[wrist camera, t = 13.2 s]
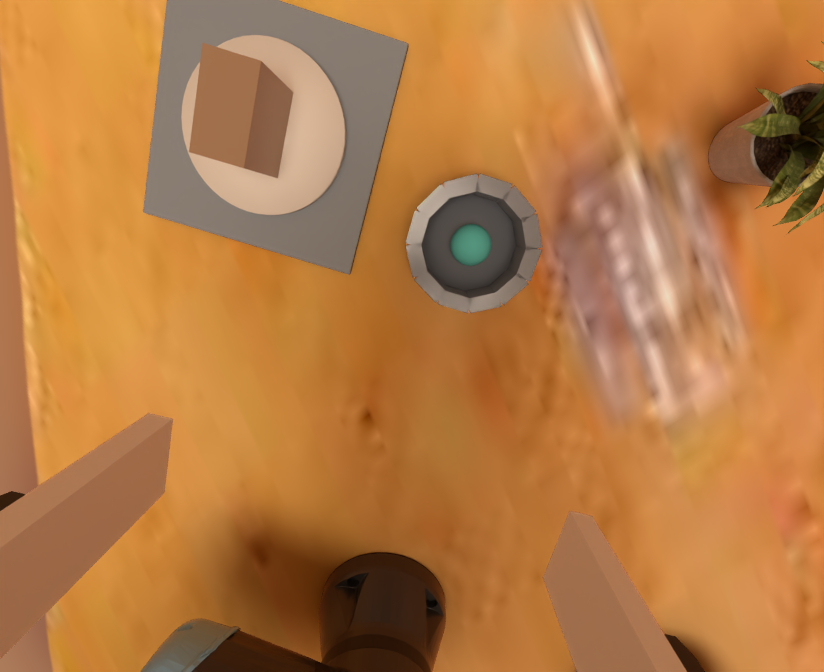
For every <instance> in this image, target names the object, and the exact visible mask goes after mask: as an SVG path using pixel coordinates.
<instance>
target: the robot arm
mask: <svg viewBox="0 0 824 672" xmlns="http://www.w3.org/2000/svg"><path fill="white" fill-rule="evenodd" d="M172 422H173V419H172V418H167V417H163V416H159V415H154V414H150V413H148V414H147V415H145V416H144V417H142V418H141V419H139V420H138V421H136V422H135V423H133V424H132V425H130V426H129V427H127V428H126V429H124V430H123V431H121V432H120V433H118V434H117V435H115V436H113V437H112V438H110V439H109V440H107V441H106V442H104V443H103V444H101V445H100V446H98V447H97V448H95V449H94V450H92V451H91V452H89V453H88V454H86V455H85V456H83V457H82V458H80V459H79V460H77V461H76V462H74V463H73V464H71V465H70V466H68V467H67V468H65V469H64V470H62V471H61V472H59V473H57V474H56V475H54V476H53V477H51V478H50V479H48V480H47V481H45V482H44V483H42V484H41V485H39V486H38V487H36V488H35V489H33V490H32V491H30V492H29V493H27V494H22V493H17V492H13V491H11V492H8V493H6V494H3V495H1V496H0V659H1V658H2V657H3V656H4V655H5V654H6V653H7V652H8V651H9V650H10V649H11V648H12V647H13V646H14V645H15V644H16V643H17V642H18V641H19V640H20V639H21V638H22V637H23V636H24V635H25V634H26V633H27V632H28V631H29V630H30V628H32V627H33V625H35V624H36V623H37V622H38V620H39V619H41V618H42V617H43V616H44V615H45V613H46V612H47V611H48V610H49V609H50V608H51V607H52V606H53V605H54V604H55V603H56V602H57V601H58V600H59V599H60V598H61V597H62V596H63V595H64V594H65V593H66V592H67V591H68V590H69V589H70V588H71V587H72V586H73V585H74V584H75V583H76V582H77V581H78V580H79V579H80V578H81V577H82V576H83V575H84V574H85V573H86V572H87V571H88V570H89V569H90V568H91V567H92V566H93V565H94V564H95V563H96V562H97V561H98V560H99V559H100V558H101V557H102V556H103V555H104V554H105V553H106V552H107V551H108V550H109V549H110V548H111V547H112V546H113V545H114V544H115V543H116V542H117V541H118V539H119V538H120V537H121V536H122V535H123V534H124V533H125V532H126V531H127V530H128V529H129V528H130V527H131V526H132V525H133V524H134V523H135V522H136V521H137V520H138V519H139V518H140V517H141V516H142V515H143V514H144V513H145V512H146V511H147V510H148V509H149V508H150V507H151V506H152V505H153V504H154V503H155V502H156V501H157V500H158V499H159V498H160V497H161V496H162V495H163V494H164V492H165V483H166V475H167V466H168V457H169V449H170V440H171V431H172ZM543 579H544V582H545V585H546V587H547V590H548V593H549V596H550V599H551V601H552V604H553V607H554V610H555V613H556V615H557V618H558V621H559V624H560V626H561V629H562V632H563V635H564V638H565V640H566V643H567V646H568V649H569V652H570V654H571V657H572V660H573V663H574V666H575V668H576V671H577V672H705V671H704V670H703V668H702V667H701V665H700V664H699V662H698V661H697V659H696V658H695V657H694V656H693V655H692V654H691V653H690V652H689V650H688V649H687V648H686V647H685V646H684V645H683V644H682V643H681V642H680V641H679V640H678V639H677V638H676V637H675V636H670V635H666V634H664V633H663V632H662V630H661V628H660V627H659V625H658V623H657V622H656V620H655V619H654V617H653V615H652V614H651V612H650V610H649V609H648V607H647V605H646V604H645V602H644V601H643V599H642V597H641V596H640V594H639V592H638V591H637V589H636V587H635V586H634V584H633V582H632V581H631V579H630V578H629V576H628V574H627V573H626V571H625V569H624V568H623V566H622V564H621V563H620V561H619V560H618V558H617V556H616V555H615V553H614V551H613V550H612V548H611V546H610V545H609V543H608V541H607V540H606V538H605V537H604V535H603V533H602V532H601V530H600V528H599V527H598V525H597V523H596V522H595V520H594V519H593V517H592V516H590V515H586V514H581V513H577V512H573V511H569V514H568V516H567V519H566V521H565V524H564V526H563V529H562V531H561V534H560V536H559V539H558V542H557V544H556V547H555V549H554V552H553V554H552V557H551V559H550V562H549V564H548V567H547V569H546V572H545V574H544V577H543ZM445 622H446V613H445V598H444V593H443V590H442V588H441V586H440V584H439V582H438V581H437V579H436V578H435V577H434V576H433V574H432V573H431V572H430V571H428V570H427V569H426V568H425V567H423V566H422V565H420V564H419V563H417V562H415V561H413V560H411V559H409V558H406V557H403V556H399V555H394V554H387V553H375V554H367V555H362V556H359V557H356V558H353V559H351V560H349V561H347V562H345V563H344V564H342V565H341V566H339V567H338V568H337V569H336V570H335V571H334V572H333V573H332V574H331V576H330V577H329V579H328V580H327V582H326V585H325V587H324V591H323V594H322V598H321V602H320V607H319V628H320V643H321V657H322V661H321V663H320V662H318V661H315V660H313V659H311V658H308V657H306V656H303V655H301V654H298V653H295V652H293V651H290V650H288V649H285V648H283V647H280V646H277V645H275V644H272V643H270V642H267V641H265V640H262V639H260V638H257V637H254V636H252V635H249V634H247V633H244V632H242V631H240V628H239V627H236V626H234V627H232V628H231V627H228V626H225V625H222V624H219V623H215V622H212V621H209V620H206V619H193V620H190V621H188V622H186V623H184V624H183V625H181V626H180V627H178V628H177V629H176V630H175V631H174V632H173V633H172V634H171V635H170V636H169V637H168V638H167V639H166V640H165V642H164V643H163V644H162V645H161V646H160V647H159V649H158V650H157V651H156V652H155V654H154V655H153V656H152V657H151V659H150V660H149V661H148V663H147V664H146V665H145V666H144V668H143V669H142V670H141V672H432V670H433V667H434V664H435V660H436V657H437V653H438V650H439V647H440V643H441V640H442V636H443V633H444V629H445Z"/></svg>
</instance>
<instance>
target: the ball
mask: <svg viewBox="0 0 824 672" xmlns="http://www.w3.org/2000/svg"><path fill="white" fill-rule="evenodd" d="M491 244H492V243H491V238H490V235H489V234H488V232H487V231H486V230H485V229H484V228H483V227H481V226H479V225H476V224H467V225H464V226H462V227H460V228H459V229H458V230H456V232H455V233H454V234H453V236H452V239H451V243H450V248H451V253H452V255H453V257H454V258H455V259H456V260H457V261H458V262H459V263H461V264H463V265H467V266H474V265H478V264H480V263H482V262H483V261H484V260H485V259H486V258H487V257H488V255H489V253H490V251H491Z"/></svg>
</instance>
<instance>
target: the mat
mask: <svg viewBox="0 0 824 672" xmlns="http://www.w3.org/2000/svg"><path fill="white" fill-rule="evenodd" d="M248 35H263V36H270V37H274V38H278V39H281V40H283V41H286V42H288V43H290V44H292V45H294V46H296V47H297V48H299V49H300V50H302V51H303V52H304V53H306V54H307V55H308V56H310V57H311V58H312V59H313V60H314V61H315V62H316V63H317V64H318V66H319V67H320V68H321V69H322V71H323V72H324V73H325V74H326V76H327V77H328V79H329V80H330V82H331V84H332V85H333V87H334V89H335V91H336V93H337V95H338V97H339V99H340V102H341V105H342V108H343V112H344V117H345V122H346V133H347V135H346V149H345V155H344V159H343V162H342V166H341V168H340V171H339V173H338V175H337V177H336V179H335V180H334V182H333V184H332V185H331V187H330V188H329V189H328V190H327V192H326V193H325V194H324V195H323V196H322V197H321V198H319V199H318V200H317V201H316V202H314V203H313V204H311V205H310V206H308V207H306V208H304V209H302V210H299V211H296V212H294V213H289V214H284V215H264V214H256V213H252V212H248V211H245V210H242V209H240V208H238V207H236V206H234V205H232V204H230V203H228V202H227V201H225V200H224V199H222V198H221V197H220V196H218V195H217V194H216V193H215V192H214V191H213V190H212V189H211V188H210V187H209V186H208V185H207V184H206V183H205V182H204V180H203V179H202V177H201V176H200V175H199V173H198V172H197V170H196V168H195V166H194V165H193V163H192V161H191V158H190V156H189V154H188V151H187V148H186V145H185V141H184V136H183V131H182V118H181V116H182V103H183V98H184V93H185V90H186V87H187V83H188V81H189V79H190V77H191V75H192V73H193V71H194V70H195V68H196V67H197V65H198V63H199V62H200V59H201V51H202V43H205V44H209V45H212V46H215V47H217V46H218V45H220V44H222V43H223V42H226V41H228V40H231V39H233V38H237V37H241V36H248ZM407 50H408V43H405V42H402V41H399V40H396V39H393V38H390V37H387V36H384V35H381V34H378V33H375V32H372V31H369V30H366V29H363V28H360V27H357V26H354V25H351V24H348V23H345V22H342V21H339V20H336V19H333V18H330V17H327V16H324V15H321V14H318V13H315V12H312V11H309V10H306V9H303V8H300V7H297V6H294V5H291V4H288V3H285V2H282V1H279V0H167V5H166V14H165V23H164V32H163V41H162V50H161V58H160V67H159V76H158V85H157V94H156V103H155V112H154V121H153V129H152V138H151V147H150V156H149V165H148V174H147V183H146V192H145V201H144V209H143V212H144V213H147V214H150V215H154V216H157V217H160V218H163V219H167V220H170V221H173V222H177V223H180V224H183V225H187V226H190V227H193V228H197V229H200V230H203V231H207V232H210V233H213V234H217V235H220V236H223V237H226V238H230V239H233V240H236V241H240V242H243V243H246V244H250V245H253V246H256V247H260V248H263V249H266V250H270V251H273V252H276V253H280V254H283V255H286V256H289V257H293V258H296V259H299V260H303V261H306V262H309V263H313V264H316V265H319V266H323V267H326V268H329V269H333V270H336V271H339V272H343V273H346V274H350V272H351V268H352V265H353V261H354V257H355V253H356V249H357V245H358V241H359V237H360V233H361V229H362V226H363V222H364V218H365V214H366V210H367V206H368V202H369V198H370V194H371V190H372V187H373V183H374V179H375V175H376V171H377V167H378V163H379V159H380V155H381V151H382V147H383V144H384V140H385V136H386V132H387V128H388V124H389V120H390V116H391V112H392V108H393V105H394V101H395V97H396V93H397V89H398V85H399V81H400V77H401V73H402V69H403V65H404V62H405V58H406V54H407Z"/></svg>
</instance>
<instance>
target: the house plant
mask: <svg viewBox="0 0 824 672" xmlns="http://www.w3.org/2000/svg"><path fill="white" fill-rule="evenodd" d="M821 42H822V41H821ZM822 43H823V44H824V42H822ZM808 62H809V63H810V64H811V65H813V66H814V67H816V68H818V69H819V70H821V71H822V72H824V62H822V61H813V62H812V61H808ZM756 89H757V88H756ZM757 90H758V91H759V92H760V93H761V94H762V95H763V96H765V97H766V98H767V99H768V100H769V101H767V102H765V103H764V104H762V105H760V106H758V107H757V108H755V109H753V110H752V111H750V112H748V113H746V114H745V115H743V116H741V117H739V118H738V119H736V120H734V121H732V122H731V123H729V124H727V125H726V126H725V127H723V128H722V129H721V130H720V131H719V132H718V133H717V135H716V136H715V137H714V139H713V141H712V143H711V145H710V149H709V153H708V162H709V165H710V169H711V170H712V172H713V173H714V175H715V176H716V177H718V178H719V179H720V180H723V181H726V182H731V183H741V184H750V185H759V186H768V187H771V188H770V190H769V193H768V195H767V196H766V198H765V199H764V201H763V202H762V204H761V205H759V206H758V207H757V208H759V207H762V206H765V205H768V206H767V207H769V206H771V205H773V204H776V203H780V202H782V201H784V200H785V199H787V198H788V197H790V196H791V195H792V194H793V193H794V192H795V190H796V189H797V187H799V188H798V190H797V191H796V193H795V195H797V194H799V193H801V192H802V191H803V193H802V194H801V195H800V196H799V197H798V198H797V200H796V201H795V202H794V203H793V204H792V206H791V207H790V208H789V210H788V211H787V213H786V215H785V217H784V218H783V219H782V220H781V221H780V222H779V223H778V224H783V223H787V222H792V221H796V220H798V219H800V218H802V217H804V216H805V215H806V214H808V213H809V212H810V211H811V210H812V209H813V208H814V207H815V205H816V204H817V202H818V200H819V198H820V196H821V194H822V191H823V188H824V84H813V83H808V84H804V85H799V86H795V87H793V88H791V89H789V90H787V91H785V92H783V93H781V94H779V95H778V94H775V93H773V92H771V91H769V90H766V89H757ZM795 195H793V196H795ZM791 197H792V196H791ZM765 208H766V207H765ZM755 209H756V208H755ZM823 211H824V204H822V205H821V206H820V207H818V208H817V209H816V210H814V211H813V212H812V213H810V214H809V215H808V216H806V217H805V218H804V219H803V220H802V221H800V222H799V223H798V224H797V225H796V226H795V227H793V228H792V229H791V230H790V231H789V232H791V231H792V230H794V229H795V228H797V227H798V226H800V225H801V224H803V223H804V222H806V221H808V220H809V219H811V218H813V217H815V216H817V215H819V214H820V213H822V212H823ZM778 224H775V225H778ZM773 226H774V225H773ZM789 232H788V233H789ZM784 237H785V236H784Z"/></svg>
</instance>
